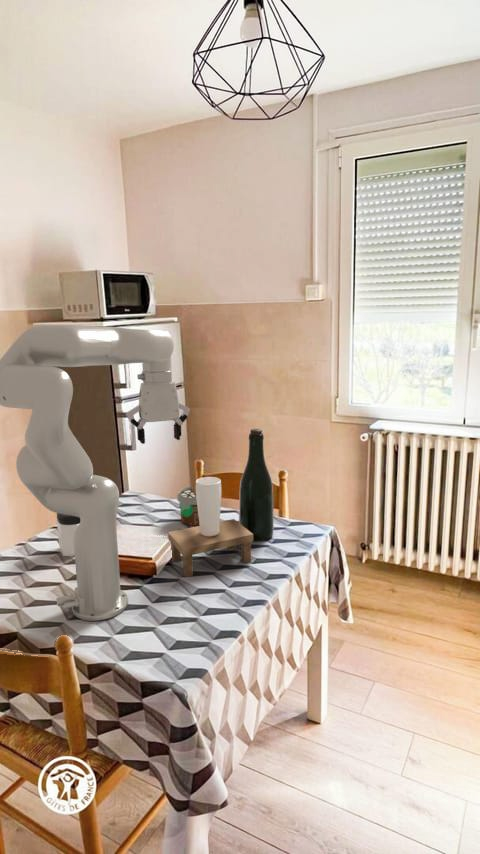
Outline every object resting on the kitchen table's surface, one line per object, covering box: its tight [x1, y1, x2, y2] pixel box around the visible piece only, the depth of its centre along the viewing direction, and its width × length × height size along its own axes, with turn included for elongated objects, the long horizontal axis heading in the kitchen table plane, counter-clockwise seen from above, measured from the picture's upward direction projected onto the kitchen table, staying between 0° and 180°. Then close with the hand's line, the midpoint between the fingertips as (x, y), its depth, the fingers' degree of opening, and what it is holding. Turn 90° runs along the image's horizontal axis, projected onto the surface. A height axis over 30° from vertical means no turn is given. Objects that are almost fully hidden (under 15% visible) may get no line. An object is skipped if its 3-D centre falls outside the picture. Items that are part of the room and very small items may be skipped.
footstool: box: [167, 518, 254, 578], centre depth 143 cm, size 20×12×8 cm, turn 117°
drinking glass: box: [195, 476, 222, 537], centre depth 141 cm, size 7×7×15 cm
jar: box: [56, 513, 80, 557], centre depth 150 cm, size 9×8×12 cm
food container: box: [176, 486, 200, 528], centre depth 169 cm, size 12×6×10 cm, turn 17°
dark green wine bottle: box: [238, 428, 275, 542], centre depth 157 cm, size 10×10×33 cm
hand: (159, 440), depth 142 cm, fingers open, 9 cm apart
